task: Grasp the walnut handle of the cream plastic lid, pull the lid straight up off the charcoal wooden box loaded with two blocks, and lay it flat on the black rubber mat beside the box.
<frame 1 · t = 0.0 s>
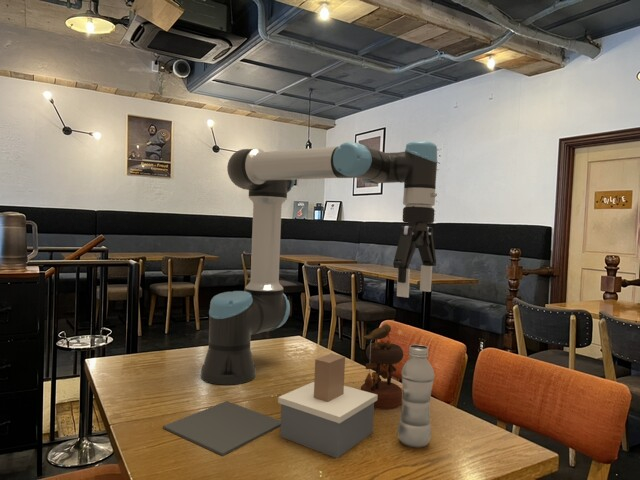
hand: (414, 294, 112), 28 cm above the table, fingers open, 13 cm apart
box: (327, 434, 97), on the table
plastic bottle: (413, 444, 94), on the table
lid: (328, 401, 96), point 7 cm above the table, touching box
mat: (224, 426, 98), on the table
music box: (382, 401, 117), on the table
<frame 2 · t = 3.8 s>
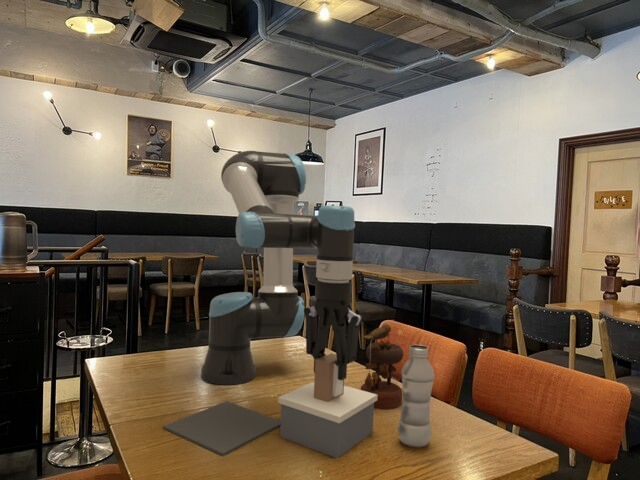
hand: (329, 391, 96), 9 cm above the table, fingers closed on lid, 3 cm apart
lid: (328, 401, 96), point 7 cm above the table, touching box, gripper
everything else where it was.
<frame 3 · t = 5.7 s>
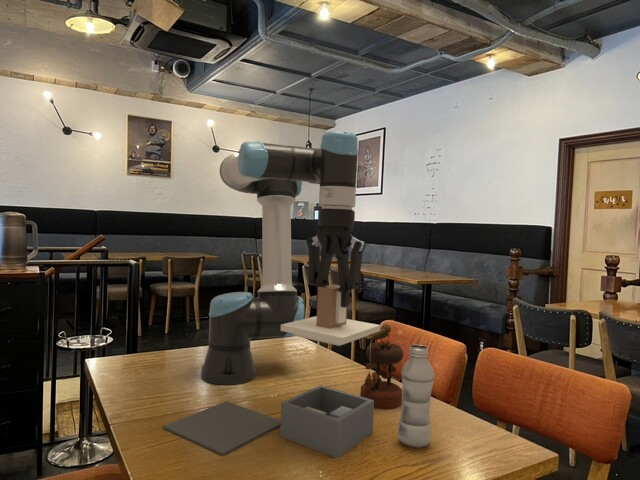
hand: (331, 320, 96), 24 cm above the table, fingers closed on lid, 3 cm apart
lid: (331, 330, 96), point 22 cm above the table, touching gripper
everything else where it was.
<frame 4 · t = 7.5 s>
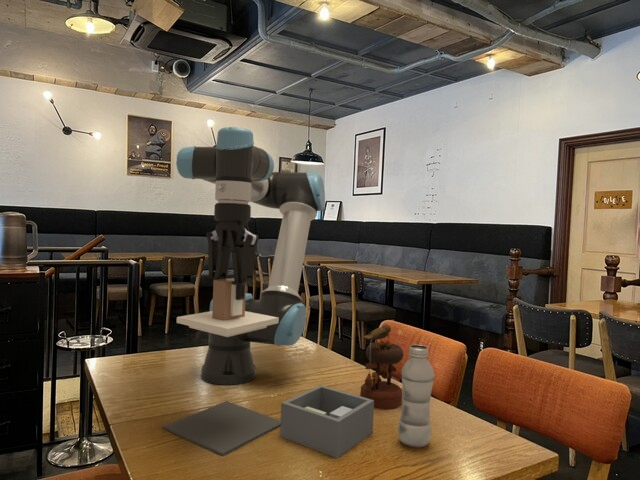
hand: (229, 313, 98), 24 cm above the table, fingers closed on lid, 3 cm apart
lid: (228, 322, 98), point 22 cm above the table, touching gripper
everything else where it was.
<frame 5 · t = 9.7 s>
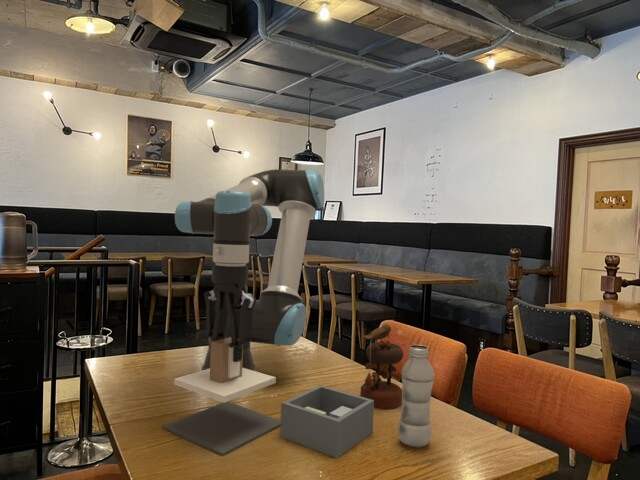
hand: (226, 373, 98), 11 cm above the table, fingers closed on lid, 3 cm apart
lid: (225, 383, 98), point 9 cm above the table, touching gripper
everything else where it was.
when the fingers open (5 cm above the table, at t = 11.6 s): lid drops 1 cm, resting on mat.
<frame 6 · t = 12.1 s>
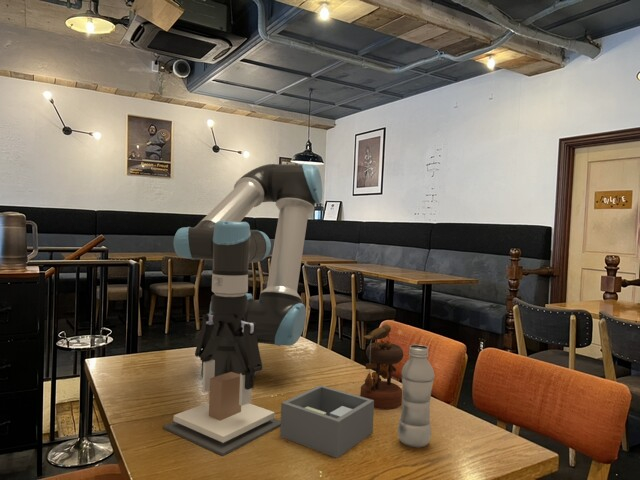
hand: (226, 396, 98), 6 cm above the table, fingers open, 10 cm apart
lid: (224, 419, 98), point 1 cm above the table, touching mat
everything else where it was.
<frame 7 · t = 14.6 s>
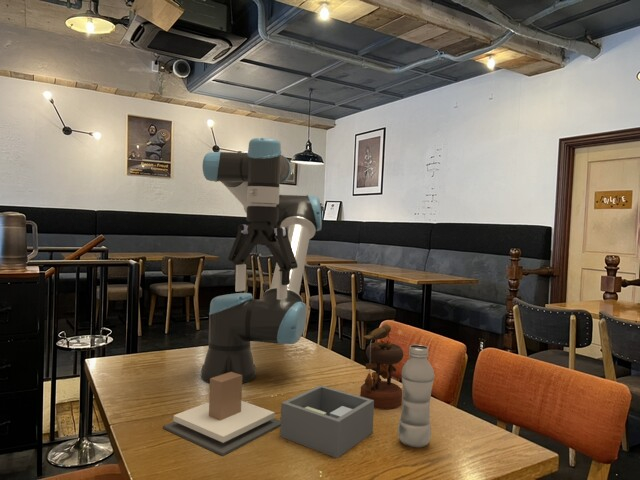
hand: (260, 294, 110), 27 cm above the table, fingers open, 13 cm apart
nothing on the table moved.
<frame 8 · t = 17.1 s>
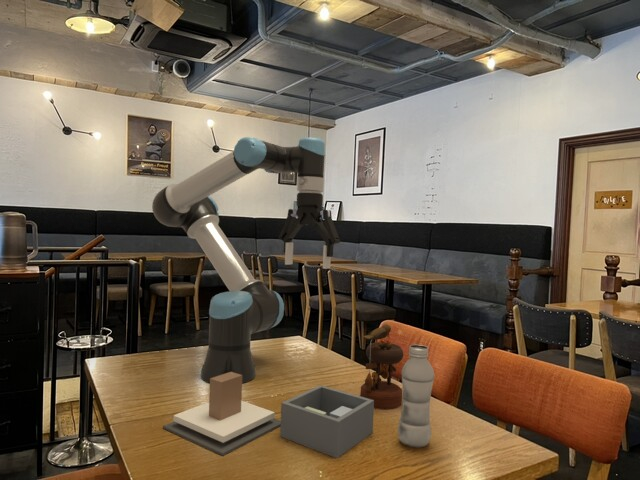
hand: (307, 266, 133), 32 cm above the table, fingers open, 13 cm apart
nothing on the table moved.
at the end: lid inside the target area on the mat (0.1 cm from its centre), point 1.5 cm above the mat's base; lid tilted 0°; the gripper is holding nothing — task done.
